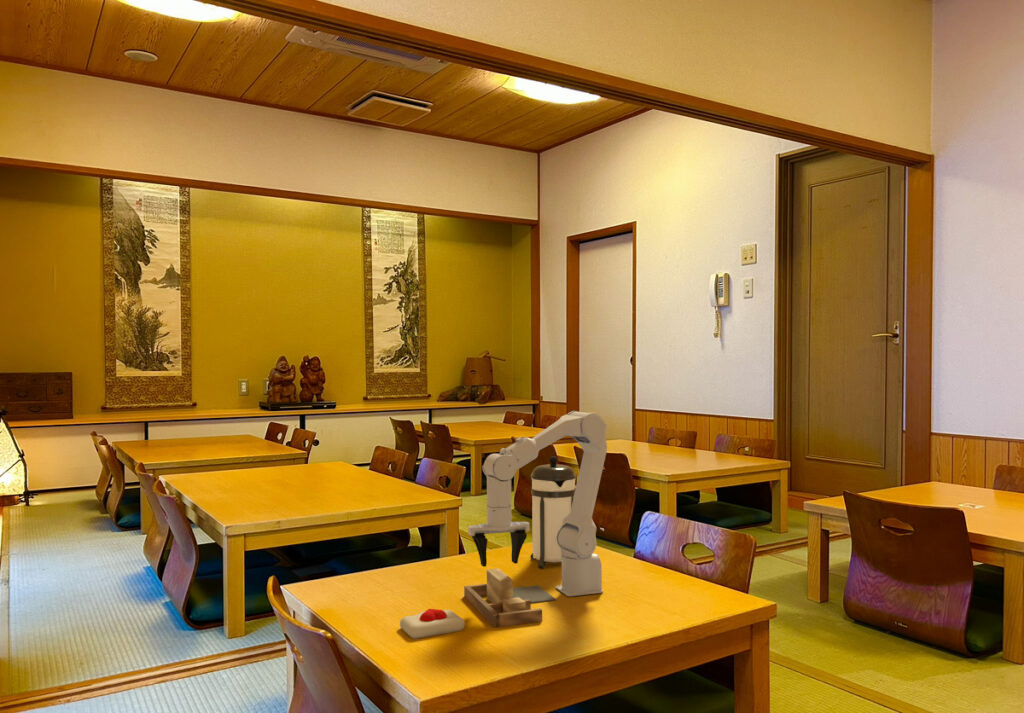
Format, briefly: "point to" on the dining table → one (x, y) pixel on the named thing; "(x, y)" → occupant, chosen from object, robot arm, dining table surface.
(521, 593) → the mat
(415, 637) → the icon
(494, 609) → the rack
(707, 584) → the dining table surface
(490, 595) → the tan wooden block
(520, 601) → the offcut upper
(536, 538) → the coffee press
